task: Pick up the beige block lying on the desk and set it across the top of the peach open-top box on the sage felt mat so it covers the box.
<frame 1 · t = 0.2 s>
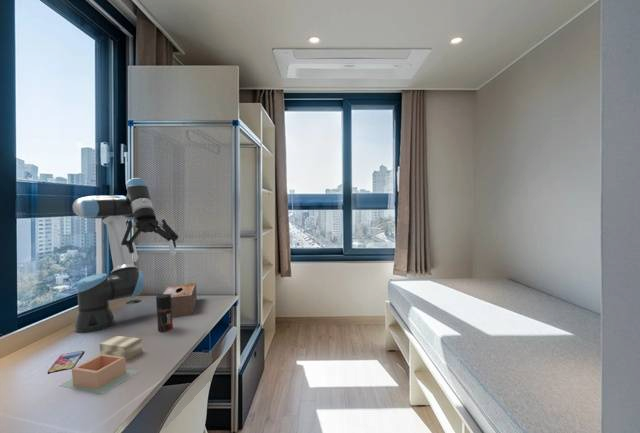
hand: (156, 257, 123), 35 cm above the table, tool tilted 35°, fingers open, 13 cm apart
deodorant: (165, 329, 144), on the table
beige block: (121, 355, 120), on the table
smartphone: (67, 363, 116), on the table
felt mat: (100, 379, 103), on the table
tissue box cover: (180, 309, 172), on the table
peach open-top box: (100, 378, 103), resting on felt mat
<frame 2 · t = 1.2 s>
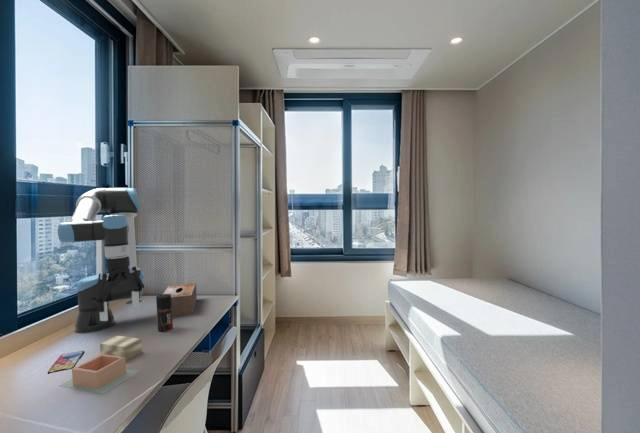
hand: (121, 314, 120), 15 cm above the table, tool pointing down, fingers open, 13 cm apart
nothing on the table moved.
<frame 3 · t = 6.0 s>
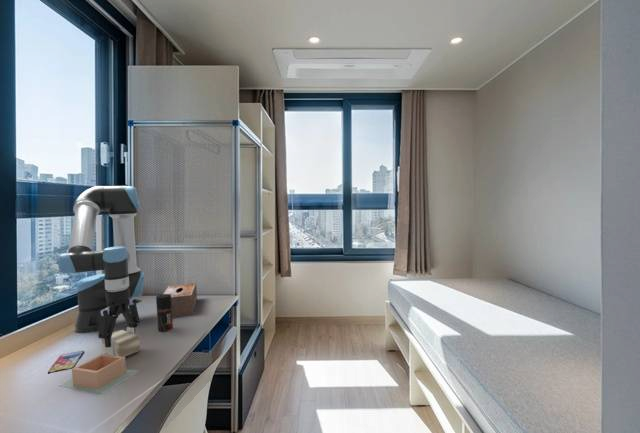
hand: (121, 349, 120), 2 cm above the table, tool pointing down, fingers closed on beige block, 8 cm apart
beige block: (121, 350, 120), point 1 cm above the table, touching gripper
everything else where it was.
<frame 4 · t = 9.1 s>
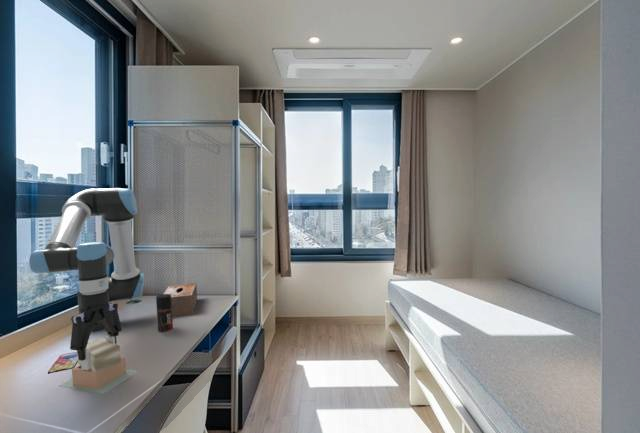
hand: (99, 362, 103), 6 cm above the table, tool pointing down, fingers closed on beige block, 8 cm apart
beige block: (99, 363, 103), point 5 cm above the table, touching peach open-top box, gripper
everything else where it was.
when the fingers open (6 cm above the table, at t = 9.8 s): beige block stays where it is, resting on peach open-top box.
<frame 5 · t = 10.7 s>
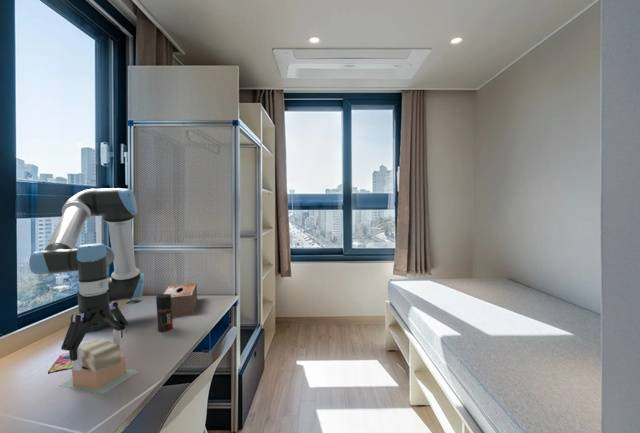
hand: (99, 358, 103), 7 cm above the table, tool pointing down, fingers open, 13 cm apart
beige block: (99, 363, 103), point 5 cm above the table, touching peach open-top box
everything else where it was.
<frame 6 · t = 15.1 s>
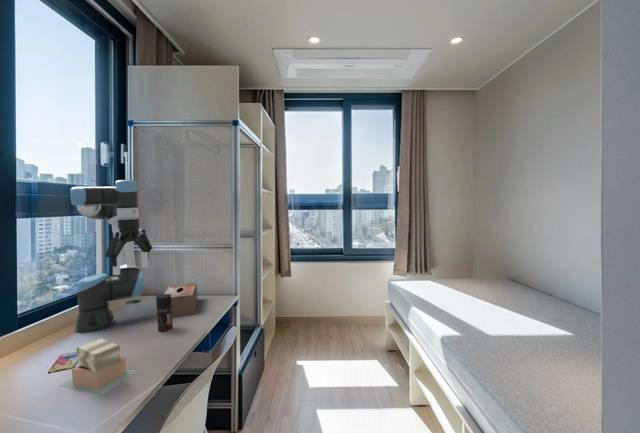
hand: (131, 270, 132), 29 cm above the table, tool pointing down, fingers open, 13 cm apart
nothing on the table moved.
at the end: beige block inside the target area on the peach open-top box (0.1 cm from its centre), point 5.0 cm above the peach open-top box's base; beige block touching peach open-top box; the gripper is holding nothing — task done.
